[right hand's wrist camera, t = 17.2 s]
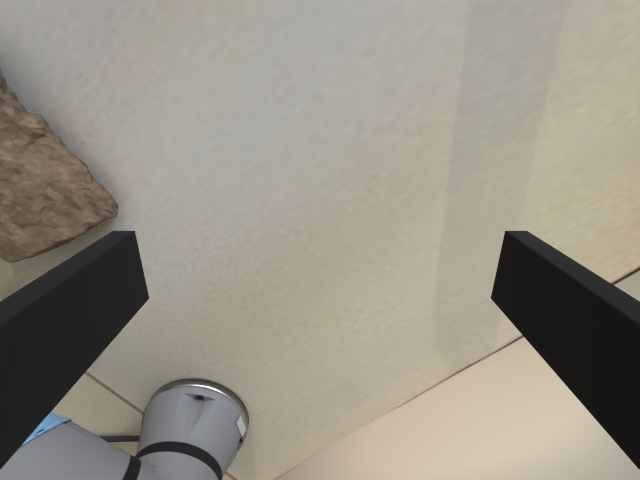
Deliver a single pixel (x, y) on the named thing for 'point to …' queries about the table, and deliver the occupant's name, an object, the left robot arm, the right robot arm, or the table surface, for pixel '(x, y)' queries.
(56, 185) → the stone
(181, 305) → the table surface
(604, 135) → the table surface
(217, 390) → the right robot arm
